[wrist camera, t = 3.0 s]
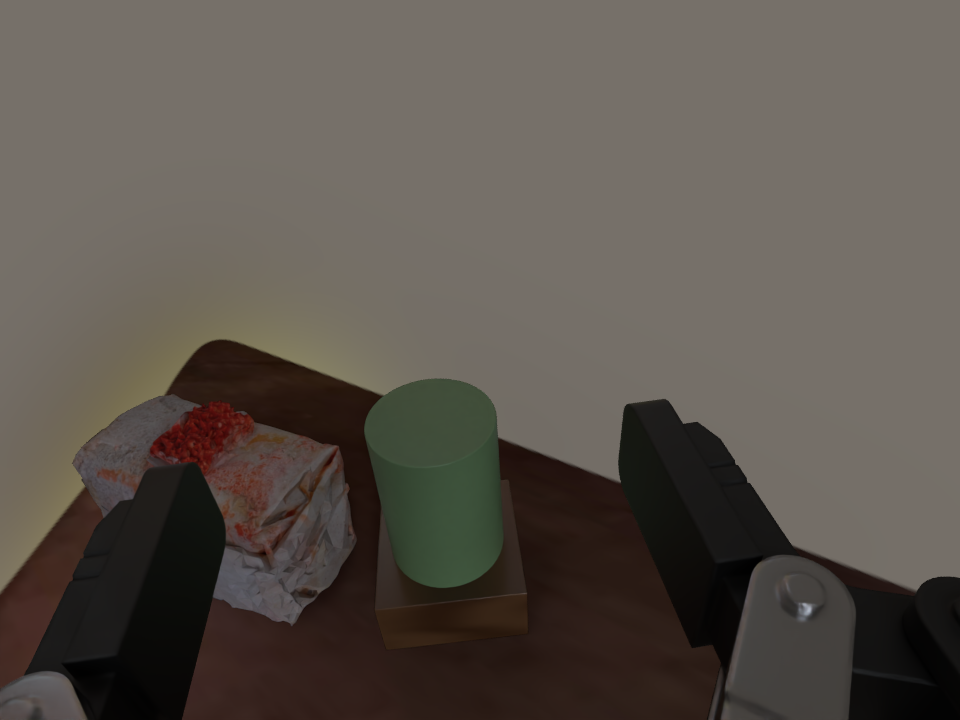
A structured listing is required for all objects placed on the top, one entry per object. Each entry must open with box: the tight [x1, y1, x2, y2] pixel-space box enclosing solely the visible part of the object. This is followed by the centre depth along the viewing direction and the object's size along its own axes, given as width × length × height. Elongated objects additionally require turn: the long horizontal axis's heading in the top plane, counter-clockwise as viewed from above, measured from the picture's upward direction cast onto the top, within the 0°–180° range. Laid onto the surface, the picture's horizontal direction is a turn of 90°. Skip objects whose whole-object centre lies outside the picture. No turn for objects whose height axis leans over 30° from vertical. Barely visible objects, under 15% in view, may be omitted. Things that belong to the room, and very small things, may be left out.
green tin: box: [364, 379, 504, 588], centre depth 28 cm, size 6×6×8 cm
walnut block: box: [374, 480, 528, 650], centre depth 31 cm, size 7×7×4 cm
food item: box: [72, 394, 357, 626], centre depth 31 cm, size 14×8×10 cm, turn 67°
